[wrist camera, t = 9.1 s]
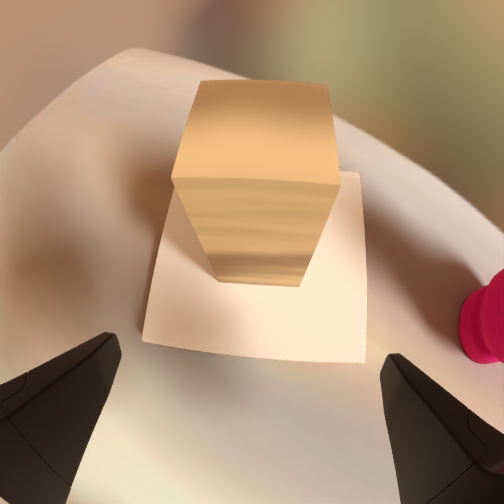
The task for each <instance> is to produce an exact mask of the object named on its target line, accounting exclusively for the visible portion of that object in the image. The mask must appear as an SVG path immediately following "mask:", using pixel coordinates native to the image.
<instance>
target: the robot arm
mask: <svg viewBox="0 0 504 504" xmlns="http://www.w3.org/2000/svg"><path fill="white" fill-rule="evenodd" d="M120 360H121V349H120V345H119V342H118V338H117V336H116V334H114V333H109V332H104V333H102V334H100V335H98V336H96V337H94V338H92V339H90V340H88V341H86V342H84V343H82V344H80V345H79V346H77V347H75V348H73V349H71V350H69V351H67V352H65V353H63V354H61V355H59V356H57V357H55V358H53V359H51V360H49V361H48V362H46V363H44V364H42V365H40V366H38V367H36V368H34V369H32V370H30V371H28V372H26V373H24V374H22V375H20V376H18V377H16V378H14V379H12V380H10V381H8V382H6V383H3V384H1V385H0V504H66V501H67V498H68V495H69V492H70V490H71V486H72V483H73V481H74V478H75V475H76V473H77V470H78V467H79V465H80V462H81V460H82V457H83V455H84V452H85V449H86V447H87V445H88V442H89V440H90V437H91V435H92V432H93V430H94V428H95V425H96V423H97V421H98V418H99V416H100V414H101V411H102V409H103V407H104V404H105V402H106V400H107V398H108V395H109V393H110V390H111V387H112V384H113V381H114V378H115V375H116V372H117V369H118V366H119V363H120ZM380 382H381V390H382V398H383V407H384V415H385V420H386V425H387V430H388V434H389V439H390V444H391V449H392V454H393V459H394V464H395V470H396V476H397V482H398V488H399V494H400V501H401V504H504V434H503V433H501V432H500V431H498V430H497V429H495V428H494V427H492V426H491V425H489V424H488V423H486V422H485V421H484V420H483V419H481V418H480V417H479V416H477V415H476V414H475V413H474V412H472V411H471V410H470V409H468V408H467V407H466V406H465V405H464V404H462V403H461V402H460V401H459V400H457V399H456V398H455V397H454V396H452V395H451V394H450V393H449V392H448V391H446V390H445V389H444V388H443V387H441V386H440V385H439V384H438V383H436V382H435V381H434V380H433V379H431V378H430V377H429V376H428V375H426V374H425V373H424V372H423V371H421V370H420V369H419V368H418V367H416V366H415V365H414V364H412V363H411V362H410V361H409V360H407V359H406V358H405V357H404V356H402V355H401V354H399V353H394V354H388V355H387V357H386V359H385V362H384V364H383V367H382V369H381V372H380Z"/></svg>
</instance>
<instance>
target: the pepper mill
mask: <svg viewBox="0 0 504 504" xmlns="http://www.w3.org/2000/svg"><path fill="white" fill-rule="evenodd" d="M459 334H460V339H461V343H462V346H463V348H464V350H465V352H466V353H467V355H468V356H469V357H470V358H471V359H472V360H473V361H475V362H477V363H479V364H488V363H495V362H499V361H501V362H502V363H504V269H503V270H501V271H500V272H498V273H497V274H496V275H495V276H494V277H493V279H492V280H491V281H490V283H489V285H487V286H485V287H483V288H481V289H479V290H476V291H475V292H473V293H472V294H470V295H469V297H468V298H467V299H466V300H465V302H464V304H463V307H462V309H461V313H460V318H459Z"/></svg>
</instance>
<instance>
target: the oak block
mask: <svg viewBox="0 0 504 504" xmlns="http://www.w3.org/2000/svg"><path fill="white" fill-rule="evenodd" d="M171 179H172V181H173V184H174V186H175V188H176V191H177V193H178V195H179V197H180V199H181V202H182V204H183V206H184V208H185V211H186V213H187V215H188V217H189V219H190V222H191V224H192V226H193V228H194V230H195V232H196V234H197V237H198V239H199V241H200V243H201V245H202V247H203V249H204V252H205V254H206V256H207V258H208V260H209V262H210V264H211V266H212V268H213V270H214V272H215V274H216V277H217V279H218V281H219V282H222V283H237V284H252V285H268V286H285V287H299V286H300V284H301V282H302V279H303V277H304V275H305V272H306V270H307V268H308V266H309V263H310V261H311V258H312V256H313V254H314V251H315V249H316V247H317V244H318V242H319V239H320V237H321V234H322V232H323V230H324V227H325V225H326V222H327V220H328V217H329V215H330V212H331V210H332V207H333V205H334V202H335V199H336V197H337V194H338V192H339V189H340V186H341V179H340V170H339V161H338V153H337V145H336V138H335V130H334V124H333V117H332V111H331V105H330V99H329V93H328V88H327V85H324V84H315V83H304V82H291V81H273V80H209V81H201V82H200V85H199V88H198V91H197V94H196V96H195V99H194V102H193V105H192V108H191V111H190V114H189V117H188V120H187V123H186V127H185V130H184V133H183V136H182V140H181V143H180V146H179V150H178V153H177V157H176V160H175V164H174V167H173V171H172V175H171Z"/></svg>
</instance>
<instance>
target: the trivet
mask: <svg viewBox="0 0 504 504" xmlns="http://www.w3.org/2000/svg"><path fill="white" fill-rule="evenodd" d="M340 179H341V186H340V189H339V192H338V194H337V197H336V199H335V202H334V205H333V207H332V210H331V212H330V215H329V217H328V220H327V222H326V225H325V227H324V230H323V232H322V234H321V237H320V239H319V242H318V244H317V247H316V249H315V251H314V254H313V256H312V258H311V261H310V263H309V266H308V268H307V270H306V272H305V275H304V277H303V279H302V282H301V284H300V286H299V287H285V286H268V285H252V284H237V283H222V282H219V281H218V279H217V277H216V274H215V272H214V270H213V268H212V266H211V264H210V262H209V260H208V258H207V256H206V254H205V252H204V249H203V247H202V245H201V243H200V241H199V239H198V237H197V234H196V232H195V230H194V228H193V226H192V224H191V222H190V219H189V217H188V215H187V213H186V211H185V208H184V206H183V204H182V202H181V199H180V197H179V195H178V193H177V191H176V188H175V187H174V190H173V194H172V198H171V201H170V205H169V209H168V213H167V217H166V221H165V225H164V229H163V233H162V237H161V242H160V246H159V250H158V255H157V259H156V264H155V269H154V274H153V279H152V284H151V289H150V294H149V299H148V305H147V310H146V316H145V322H144V328H143V334H142V341H144V342H148V343H152V344H157V345H163V346H169V347H175V348H181V349H187V350H193V351H200V352H207V353H215V354H223V355H231V356H240V357H249V358H260V359H271V360H284V361H300V362H322V363H365V353H366V326H367V275H366V248H365V230H364V216H363V205H362V194H361V185H360V176H359V173H355V172H348V171H340Z"/></svg>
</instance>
